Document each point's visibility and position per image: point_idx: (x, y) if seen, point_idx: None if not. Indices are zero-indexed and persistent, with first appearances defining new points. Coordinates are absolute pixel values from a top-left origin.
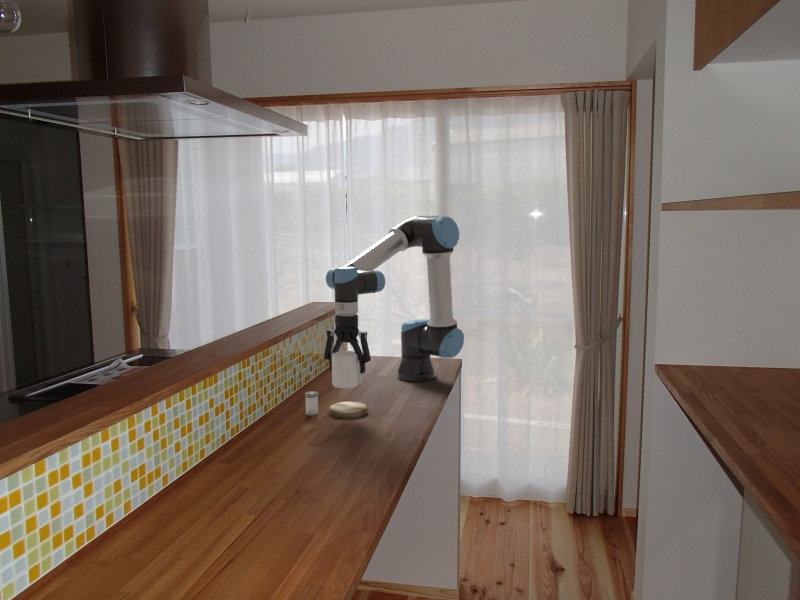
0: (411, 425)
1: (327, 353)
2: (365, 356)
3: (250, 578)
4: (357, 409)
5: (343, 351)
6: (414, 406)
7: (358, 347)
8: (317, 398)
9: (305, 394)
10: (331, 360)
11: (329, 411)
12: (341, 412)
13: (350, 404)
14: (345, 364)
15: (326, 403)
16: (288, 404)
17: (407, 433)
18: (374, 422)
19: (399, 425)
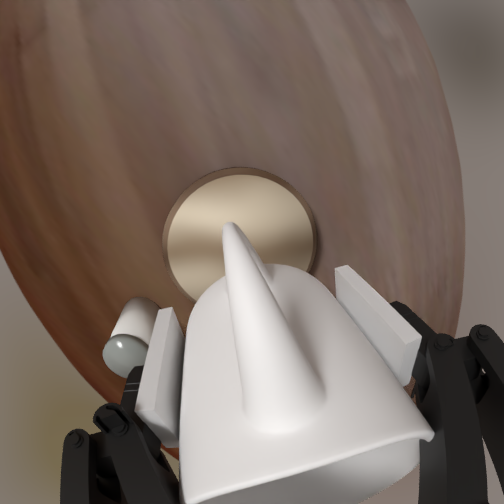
0: (443, 238)
1: (124, 501)
2: (480, 400)
3: None
4: (294, 257)
5: (223, 490)
6: (396, 75)
7: (469, 474)
8: (149, 340)
9: (121, 374)
10: (161, 456)
11: None
12: None
13: (231, 221)
14: (343, 462)
15: (95, 202)
16: (30, 282)
17: (443, 286)
18: (365, 272)
19: (423, 254)
